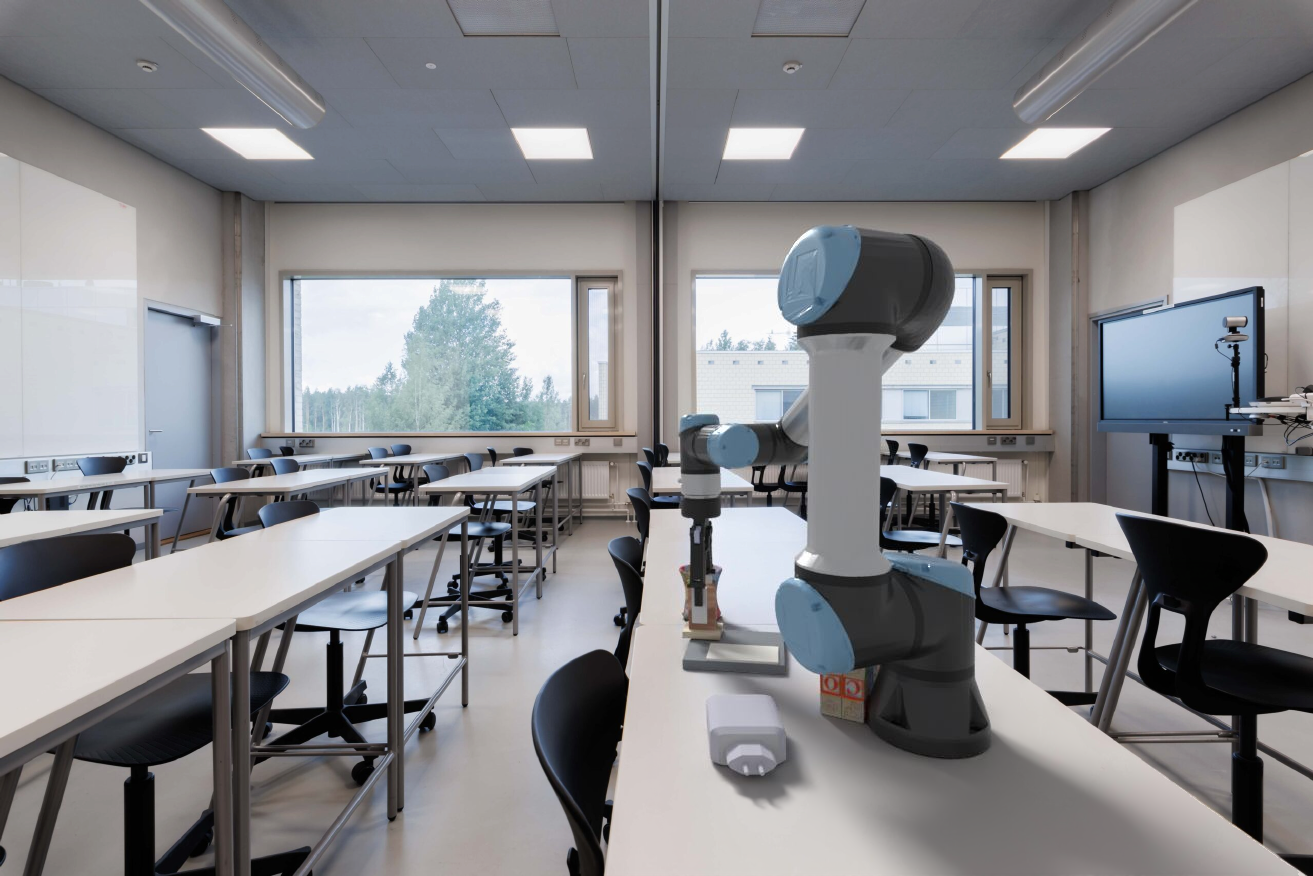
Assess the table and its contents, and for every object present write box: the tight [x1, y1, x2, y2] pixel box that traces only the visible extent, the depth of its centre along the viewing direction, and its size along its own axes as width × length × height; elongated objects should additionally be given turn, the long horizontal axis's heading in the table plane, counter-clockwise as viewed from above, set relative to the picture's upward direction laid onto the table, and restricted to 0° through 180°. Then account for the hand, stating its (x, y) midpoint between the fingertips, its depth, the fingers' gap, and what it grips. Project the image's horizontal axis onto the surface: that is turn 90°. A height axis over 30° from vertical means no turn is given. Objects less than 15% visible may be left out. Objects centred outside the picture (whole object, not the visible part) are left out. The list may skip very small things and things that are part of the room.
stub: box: [681, 583, 724, 640], centre depth 115 cm, size 6×7×9 cm
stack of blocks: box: [819, 665, 880, 724], centre depth 94 cm, size 21×6×12 cm, turn 150°
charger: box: [705, 694, 787, 776], centre depth 75 cm, size 5×9×15 cm
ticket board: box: [681, 629, 786, 676], centre depth 109 cm, size 16×17×2 cm
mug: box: [678, 563, 723, 620], centre depth 132 cm, size 12×9×11 cm
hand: (702, 615), depth 115 cm, fingers open, 8 cm apart
